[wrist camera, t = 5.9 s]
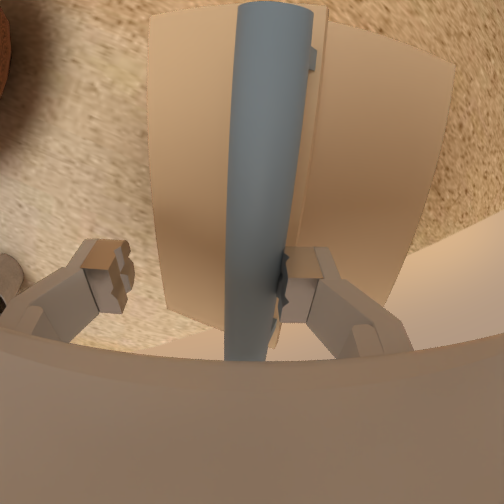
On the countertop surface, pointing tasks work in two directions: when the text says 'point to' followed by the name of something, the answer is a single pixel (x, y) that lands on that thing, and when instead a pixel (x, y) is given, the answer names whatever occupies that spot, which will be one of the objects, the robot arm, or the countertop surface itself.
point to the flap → (232, 157)
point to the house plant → (9, 280)
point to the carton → (374, 153)
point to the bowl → (4, 50)
